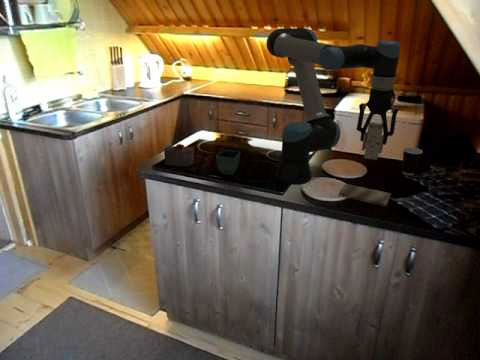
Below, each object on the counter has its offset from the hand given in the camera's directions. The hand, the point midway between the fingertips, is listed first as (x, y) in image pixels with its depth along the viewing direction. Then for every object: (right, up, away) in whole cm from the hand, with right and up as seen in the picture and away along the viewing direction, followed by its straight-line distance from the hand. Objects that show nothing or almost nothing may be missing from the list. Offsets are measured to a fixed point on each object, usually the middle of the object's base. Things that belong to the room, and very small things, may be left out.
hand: (371, 150), depth 143 cm
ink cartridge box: (0, -2, +1) cm, 2 cm away
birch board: (0, -17, +8) cm, 19 cm away
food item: (-77, -4, +36) cm, 85 cm away
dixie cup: (+26, -8, +29) cm, 40 cm away
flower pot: (-54, -8, +27) cm, 61 cm away
